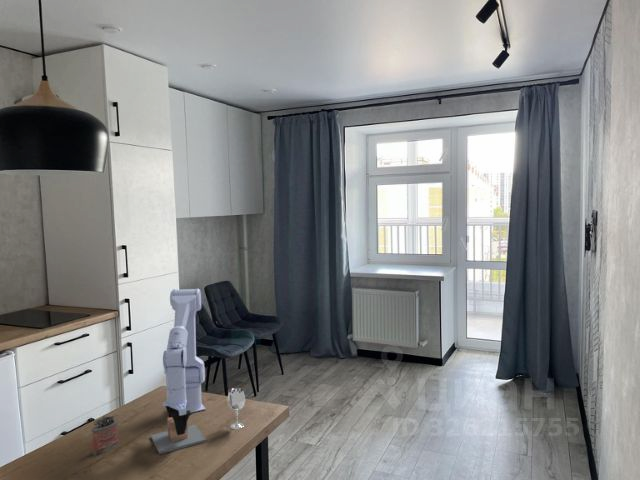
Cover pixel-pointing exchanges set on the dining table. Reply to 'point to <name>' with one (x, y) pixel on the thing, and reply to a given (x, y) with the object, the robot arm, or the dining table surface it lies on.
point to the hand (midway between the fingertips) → (177, 429)
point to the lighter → (105, 434)
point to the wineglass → (236, 404)
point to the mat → (166, 445)
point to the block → (172, 431)
